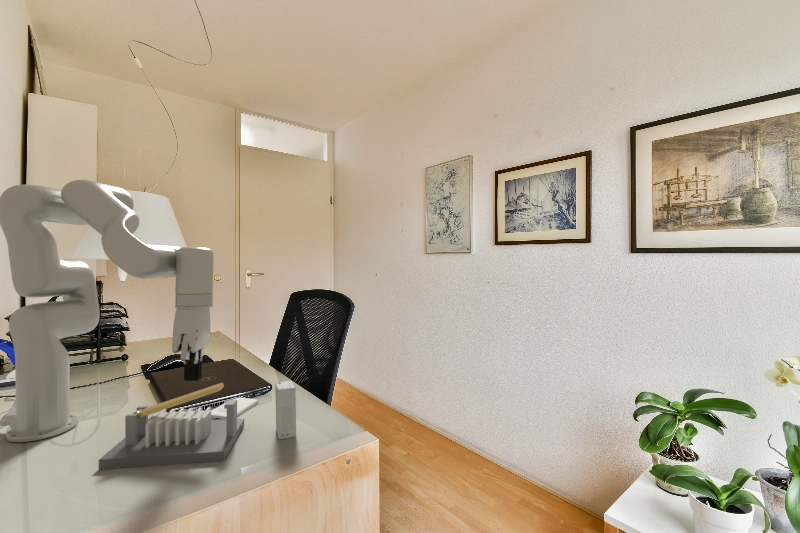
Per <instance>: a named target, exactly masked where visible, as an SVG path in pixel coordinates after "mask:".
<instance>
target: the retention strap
mask: <svg viewBox="0 0 800 533" xmlns="http://www.w3.org/2000/svg"><path fill="white" fill-rule="evenodd" d="M224 387H225V385H224V382H219V383H217V384H214V385H211V386H208V387H205V388H202V389H199V390H196V391H192V392H190V393H187V394H183V395H181V396H178V397H174V398H172V399H169V400H165V401H163V402H160V403H157V404H153V405H151V406H148V407H147V408H144V409H138V410H137V409H136V411H134V412H133V413H132V414H137V419H138V418H141V417H144V416H147V415H148V416H149V415H152V414H153V415H154V414H155V413H160V412H161V411H162V410H165V409H166V410H168V409H170V408H173V407H176V406H179V405H182V404H186V403H188V402H191V401H193V400H197V399H199V398H203V397H206V396H210V395H211V394H215V393H217V392H220V391H221V390H222V389H223V388H224Z"/></svg>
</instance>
